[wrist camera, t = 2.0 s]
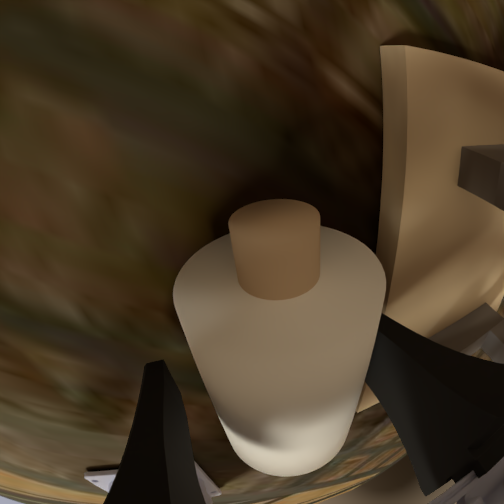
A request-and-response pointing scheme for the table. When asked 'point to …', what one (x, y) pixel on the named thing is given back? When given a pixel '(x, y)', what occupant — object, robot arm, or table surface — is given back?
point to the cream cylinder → (282, 332)
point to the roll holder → (442, 200)
